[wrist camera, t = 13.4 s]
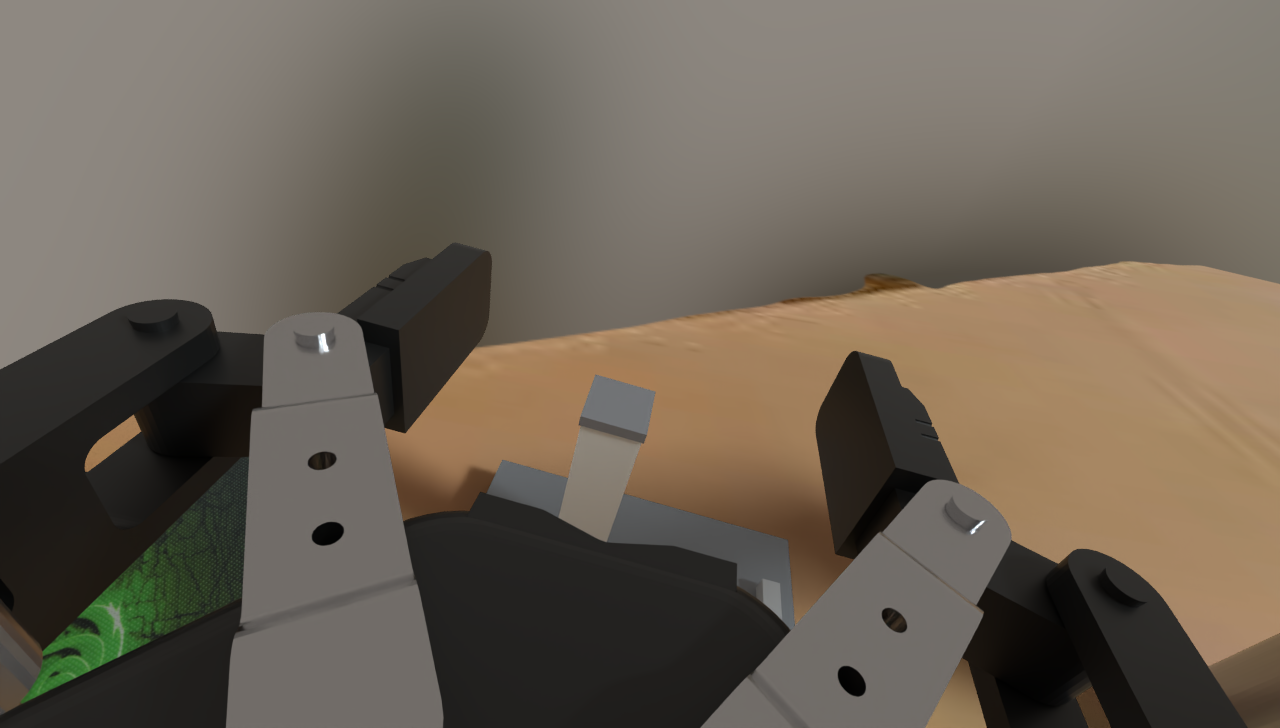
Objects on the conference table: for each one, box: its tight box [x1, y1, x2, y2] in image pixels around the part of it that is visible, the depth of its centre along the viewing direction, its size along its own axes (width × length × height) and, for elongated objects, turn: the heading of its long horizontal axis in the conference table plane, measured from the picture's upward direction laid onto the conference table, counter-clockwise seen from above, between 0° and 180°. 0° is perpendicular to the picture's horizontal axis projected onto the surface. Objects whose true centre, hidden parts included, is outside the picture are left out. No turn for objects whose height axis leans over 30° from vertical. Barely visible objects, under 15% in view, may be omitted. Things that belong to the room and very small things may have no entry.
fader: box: [559, 375, 655, 542], centre depth 30 cm, size 3×3×14 cm
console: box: [486, 460, 795, 630], centre depth 35 cm, size 22×12×4 cm, turn 81°
